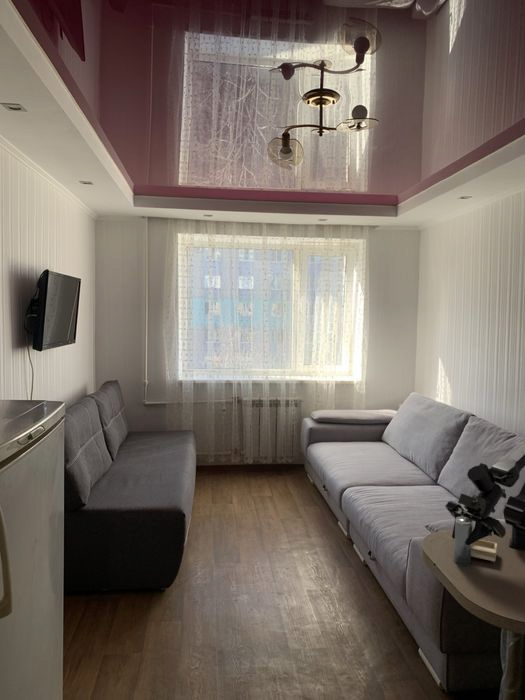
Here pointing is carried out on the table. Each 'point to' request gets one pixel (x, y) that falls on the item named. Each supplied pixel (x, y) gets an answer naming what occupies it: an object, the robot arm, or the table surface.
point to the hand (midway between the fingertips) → (459, 541)
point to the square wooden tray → (484, 550)
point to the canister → (462, 540)
